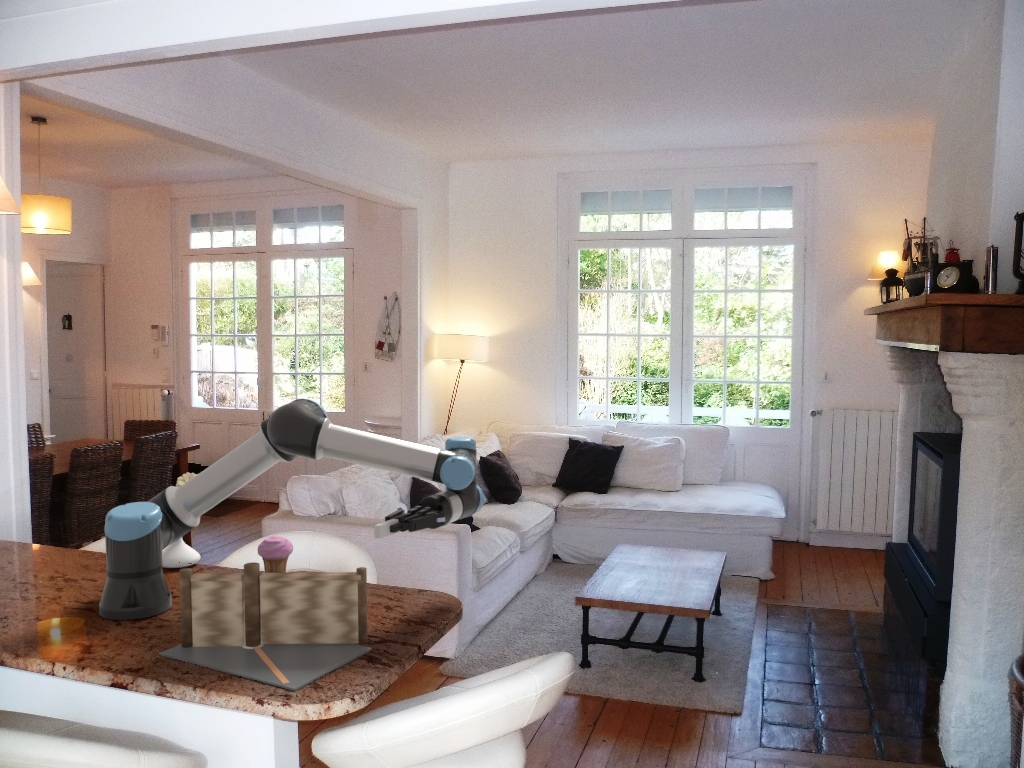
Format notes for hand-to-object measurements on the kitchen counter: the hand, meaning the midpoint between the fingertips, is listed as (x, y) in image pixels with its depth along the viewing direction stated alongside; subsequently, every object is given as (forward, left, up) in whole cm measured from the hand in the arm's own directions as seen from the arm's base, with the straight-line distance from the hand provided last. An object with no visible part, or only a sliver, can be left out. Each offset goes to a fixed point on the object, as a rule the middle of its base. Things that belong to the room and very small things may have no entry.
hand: (377, 531), depth 180 cm
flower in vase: (-77, +16, -22) cm, 82 cm away
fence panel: (-7, -12, -21) cm, 25 cm away
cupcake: (-49, +22, -22) cm, 58 cm away
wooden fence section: (-23, -21, -21) cm, 38 cm away
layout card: (-13, -19, -21) cm, 32 cm away
